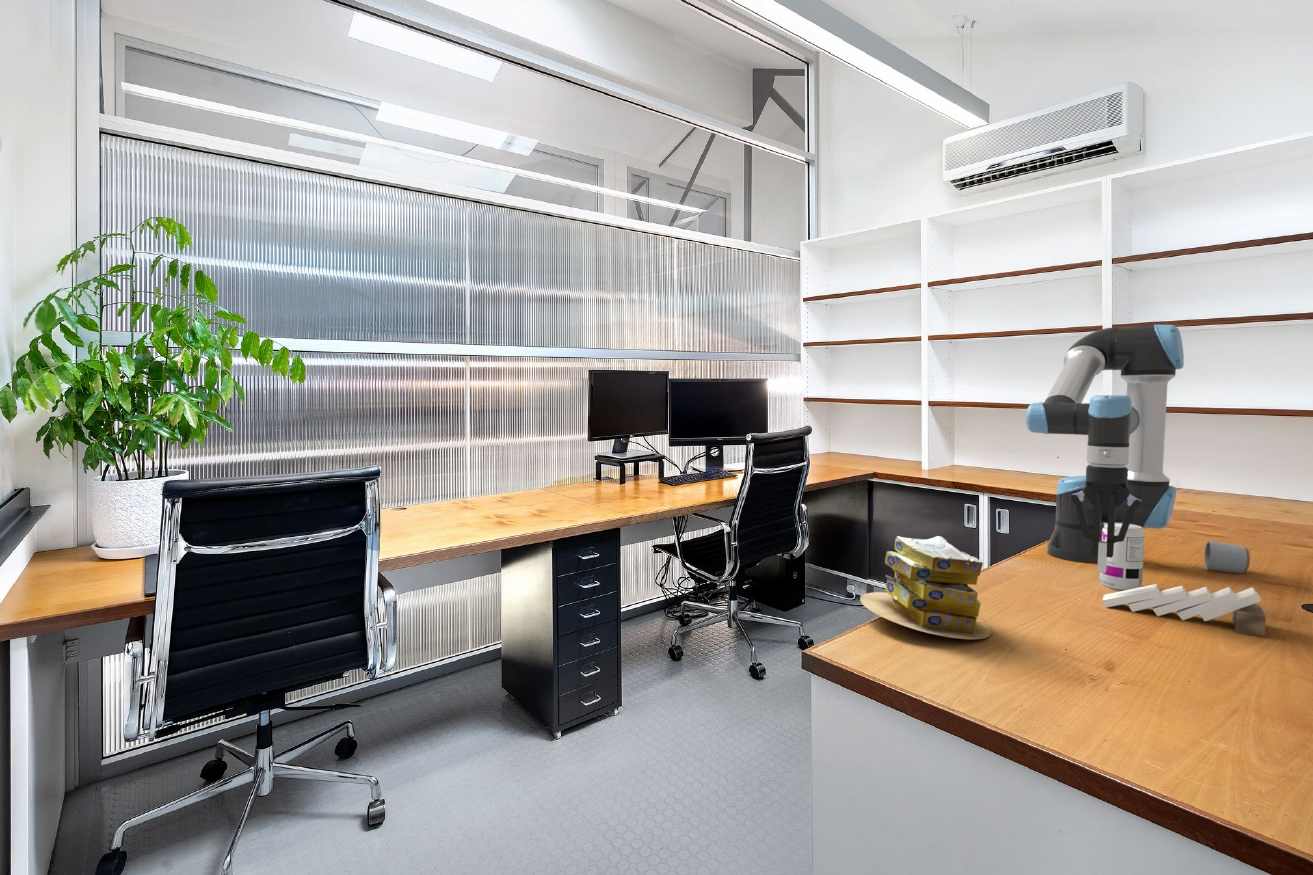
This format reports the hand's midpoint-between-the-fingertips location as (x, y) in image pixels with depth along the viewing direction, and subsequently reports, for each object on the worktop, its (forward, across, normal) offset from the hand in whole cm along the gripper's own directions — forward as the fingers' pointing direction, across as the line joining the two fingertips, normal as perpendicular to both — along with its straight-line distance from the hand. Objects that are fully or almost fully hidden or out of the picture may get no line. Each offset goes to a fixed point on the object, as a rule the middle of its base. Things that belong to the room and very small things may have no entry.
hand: (1101, 570), depth 141 cm
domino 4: (+7, +14, 0) cm, 15 cm away
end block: (+7, +24, 0) cm, 25 cm away
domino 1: (+7, +1, 0) cm, 7 cm away
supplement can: (+8, +3, +18) cm, 20 cm away
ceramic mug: (+8, +24, +53) cm, 58 cm away
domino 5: (+6, +17, 0) cm, 18 cm away
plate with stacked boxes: (+8, -28, -37) cm, 47 cm away
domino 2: (+7, +5, 0) cm, 9 cm away
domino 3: (+7, +10, 0) cm, 12 cm away
